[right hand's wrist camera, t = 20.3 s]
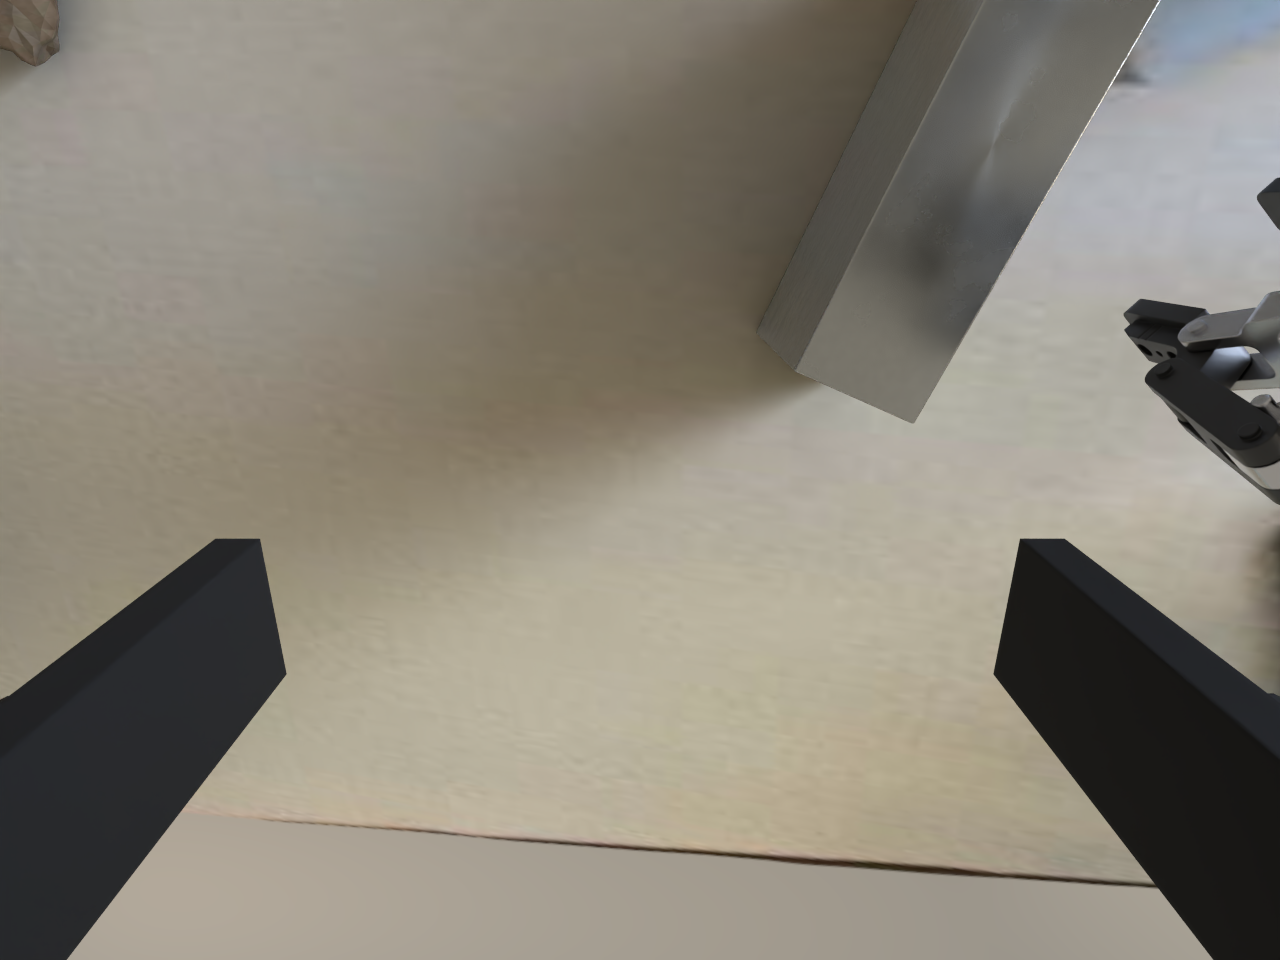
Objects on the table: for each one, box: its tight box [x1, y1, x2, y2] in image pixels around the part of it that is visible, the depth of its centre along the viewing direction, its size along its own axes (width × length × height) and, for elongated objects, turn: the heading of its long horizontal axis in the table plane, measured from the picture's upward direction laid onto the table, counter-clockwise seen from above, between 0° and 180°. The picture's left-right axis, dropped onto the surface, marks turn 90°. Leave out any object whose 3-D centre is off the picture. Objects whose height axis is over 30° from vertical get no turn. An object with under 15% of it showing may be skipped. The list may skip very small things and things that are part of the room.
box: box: [757, 0, 1161, 423], centre depth 34 cm, size 22×6×11 cm, turn 157°
